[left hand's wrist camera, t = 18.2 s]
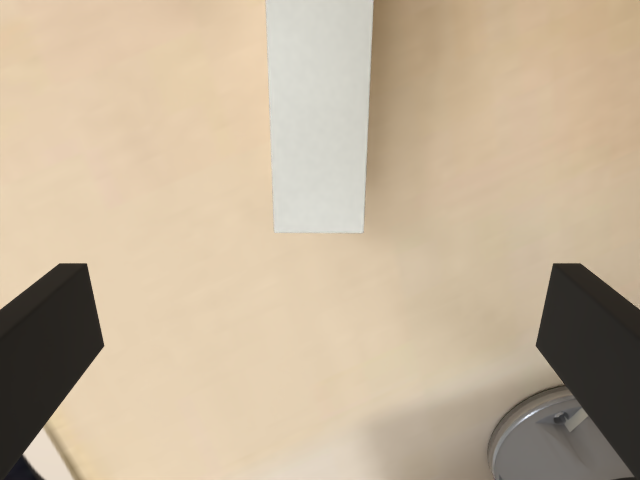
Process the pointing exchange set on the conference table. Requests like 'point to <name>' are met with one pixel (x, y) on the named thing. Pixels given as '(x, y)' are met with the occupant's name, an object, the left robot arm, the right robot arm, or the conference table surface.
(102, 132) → the conference table surface
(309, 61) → the bar
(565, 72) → the conference table surface
